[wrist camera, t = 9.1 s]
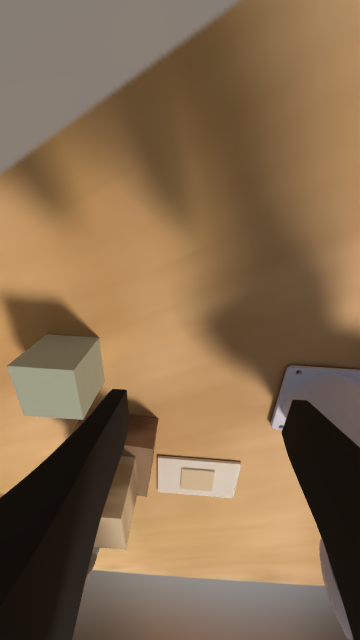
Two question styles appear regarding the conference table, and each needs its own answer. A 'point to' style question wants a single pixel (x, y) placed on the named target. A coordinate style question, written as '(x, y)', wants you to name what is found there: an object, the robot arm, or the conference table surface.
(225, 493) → the card
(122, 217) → the conference table surface
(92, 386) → the sage cube
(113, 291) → the conference table surface
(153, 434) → the walnut block
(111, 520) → the maple cube
